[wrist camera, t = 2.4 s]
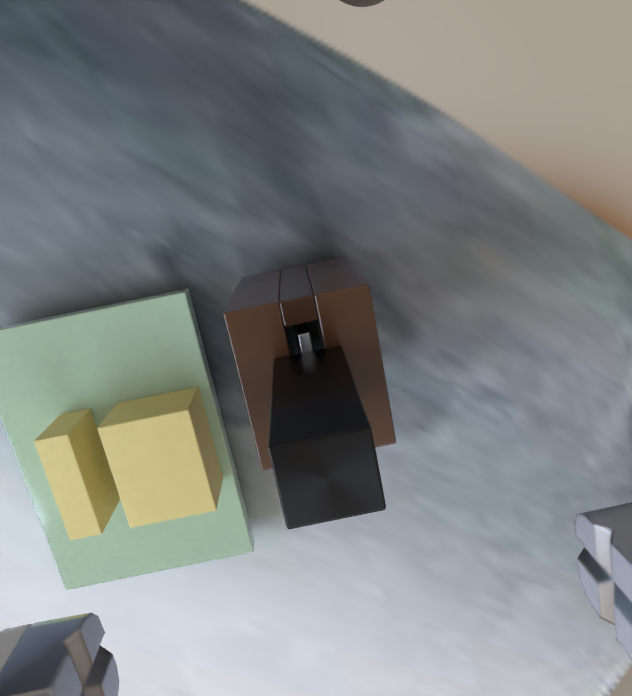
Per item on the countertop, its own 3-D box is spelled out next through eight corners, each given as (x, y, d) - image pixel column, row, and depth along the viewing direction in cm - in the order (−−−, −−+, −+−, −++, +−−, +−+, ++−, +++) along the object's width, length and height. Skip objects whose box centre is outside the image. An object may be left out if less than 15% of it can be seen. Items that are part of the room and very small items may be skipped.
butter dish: (-20, 330, 27) (-31, 335, 26) (188, 288, 27) (185, 292, 26) (72, 578, 31) (65, 590, 30) (254, 541, 31) (253, 552, 30)
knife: (273, 297, 27) (260, 420, 13) (322, 287, 27) (366, 399, 13) (288, 366, 28) (292, 554, 14) (336, 356, 28) (391, 534, 14)
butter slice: (59, 414, 27) (33, 441, 24) (90, 407, 27) (67, 433, 24) (91, 505, 28) (69, 540, 25) (120, 499, 28) (102, 534, 25)
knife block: (240, 277, 27) (222, 313, 19) (344, 256, 27) (369, 283, 19) (268, 394, 28) (261, 471, 21) (366, 375, 28) (396, 444, 21)
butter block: (116, 402, 27) (96, 428, 24) (198, 385, 27) (188, 409, 24) (145, 494, 28) (129, 528, 25) (223, 478, 28) (216, 511, 25)
